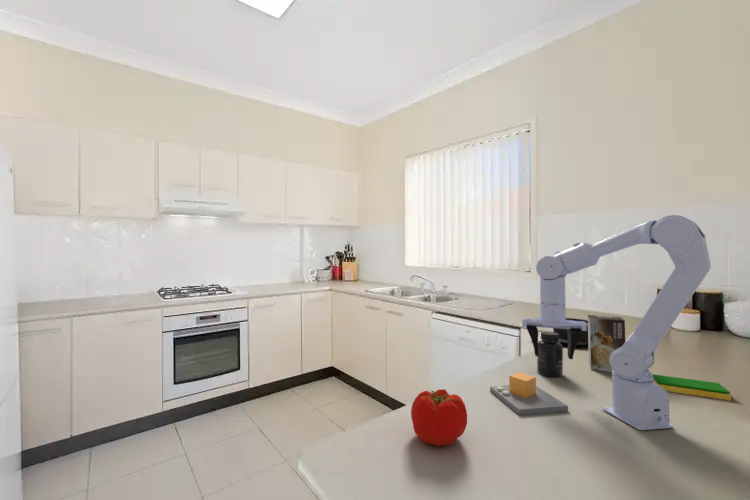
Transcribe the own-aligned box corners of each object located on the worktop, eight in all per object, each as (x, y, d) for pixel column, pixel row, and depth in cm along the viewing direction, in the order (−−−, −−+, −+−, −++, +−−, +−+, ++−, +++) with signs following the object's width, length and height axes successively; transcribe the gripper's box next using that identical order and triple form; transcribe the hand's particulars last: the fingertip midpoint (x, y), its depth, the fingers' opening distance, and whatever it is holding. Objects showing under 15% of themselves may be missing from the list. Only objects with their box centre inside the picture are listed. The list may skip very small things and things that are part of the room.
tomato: (476, 437, 65) (476, 392, 65) (447, 463, 57) (447, 412, 57) (429, 419, 72) (429, 378, 72) (398, 440, 64) (398, 394, 64)
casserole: (591, 352, 121) (591, 329, 121) (538, 342, 135) (538, 321, 135) (609, 340, 138) (609, 320, 138) (560, 333, 152) (560, 314, 152)
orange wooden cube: (536, 393, 82) (535, 377, 82) (526, 398, 80) (526, 381, 80) (519, 387, 86) (519, 372, 86) (509, 391, 83) (509, 375, 83)
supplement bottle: (566, 378, 96) (566, 336, 96) (540, 376, 97) (540, 335, 97) (558, 370, 102) (558, 331, 102) (534, 368, 104) (534, 330, 104)
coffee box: (622, 368, 104) (622, 316, 105) (626, 374, 99) (626, 320, 99) (587, 363, 109) (587, 314, 109) (589, 369, 103) (589, 317, 103)
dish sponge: (731, 402, 81) (731, 392, 81) (658, 391, 88) (658, 381, 88) (718, 392, 88) (718, 382, 88) (651, 382, 94) (651, 373, 94)
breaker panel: (568, 411, 76) (568, 403, 76) (519, 414, 74) (519, 407, 74) (532, 388, 88) (532, 381, 88) (490, 391, 87) (490, 384, 87)
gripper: (523, 304, 84) (523, 358, 84) (589, 307, 79) (590, 364, 79) (520, 300, 91) (521, 350, 91) (582, 303, 86) (582, 355, 86)
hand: (553, 356), depth 85 cm, fingers open, 7 cm apart
